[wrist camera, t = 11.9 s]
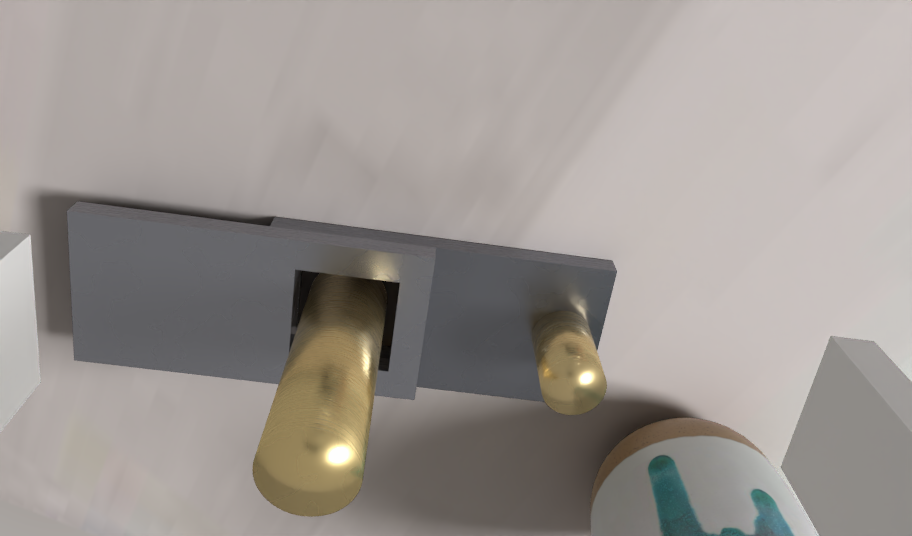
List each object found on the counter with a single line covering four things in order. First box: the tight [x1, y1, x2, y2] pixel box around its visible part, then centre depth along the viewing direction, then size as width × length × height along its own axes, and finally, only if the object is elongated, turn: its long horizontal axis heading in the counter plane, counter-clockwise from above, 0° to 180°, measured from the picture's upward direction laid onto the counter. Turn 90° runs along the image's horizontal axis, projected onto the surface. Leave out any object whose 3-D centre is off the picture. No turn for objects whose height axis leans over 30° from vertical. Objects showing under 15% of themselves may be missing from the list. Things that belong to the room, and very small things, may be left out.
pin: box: [253, 273, 387, 517], centre depth 37 cm, size 4×4×14 cm
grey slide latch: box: [67, 201, 617, 415], centre depth 41 cm, size 8×26×6 cm, turn 82°
